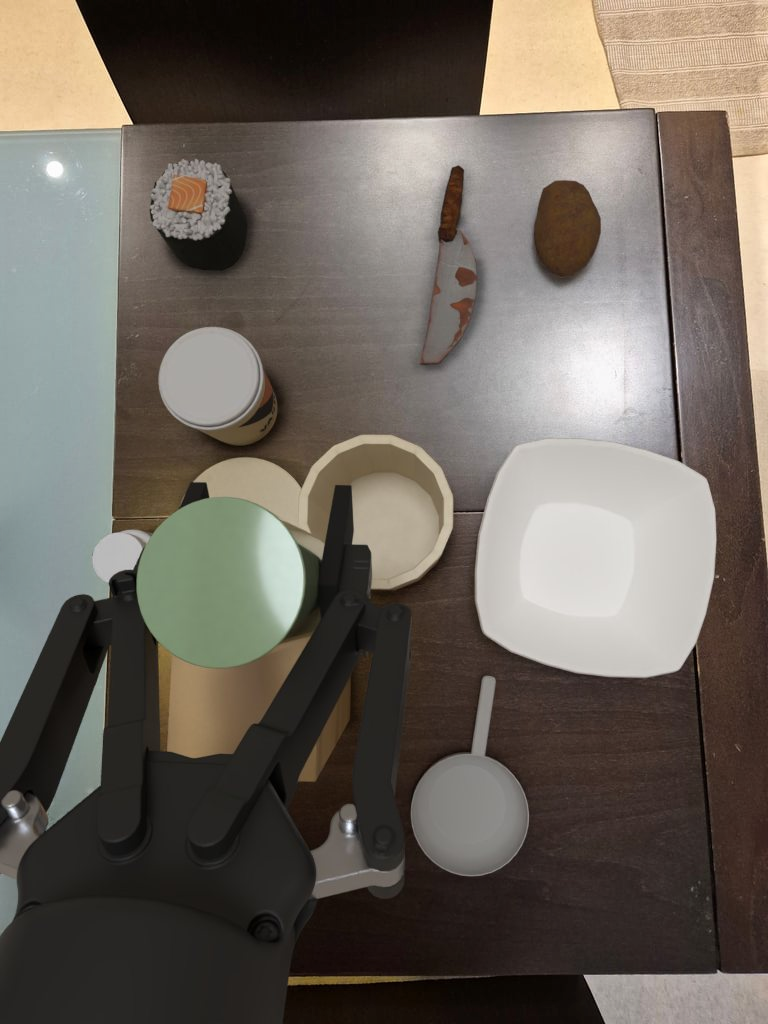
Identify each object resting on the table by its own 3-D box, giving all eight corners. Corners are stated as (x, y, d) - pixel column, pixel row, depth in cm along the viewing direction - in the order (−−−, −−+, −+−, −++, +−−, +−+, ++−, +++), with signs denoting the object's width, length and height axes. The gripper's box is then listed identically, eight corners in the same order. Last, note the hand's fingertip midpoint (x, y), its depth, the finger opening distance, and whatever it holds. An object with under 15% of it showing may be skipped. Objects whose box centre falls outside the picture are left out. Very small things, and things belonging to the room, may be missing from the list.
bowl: (489, 440, 74) (498, 420, 66) (695, 476, 73) (732, 461, 64) (453, 643, 72) (458, 650, 64) (664, 684, 71) (698, 697, 62)
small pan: (403, 851, 70) (402, 865, 66) (431, 662, 72) (432, 666, 68) (515, 871, 70) (520, 887, 66) (541, 681, 71) (548, 685, 68)
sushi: (167, 268, 78) (139, 231, 70) (180, 194, 79) (154, 149, 71) (241, 276, 78) (221, 240, 70) (254, 202, 78) (235, 158, 70)
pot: (319, 588, 73) (295, 587, 59) (323, 464, 75) (300, 433, 60) (446, 591, 73) (452, 590, 58) (447, 465, 74) (453, 435, 60)
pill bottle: (153, 603, 74) (112, 604, 64) (118, 560, 75) (72, 555, 65) (196, 565, 74) (162, 561, 64) (161, 523, 75) (122, 512, 65)
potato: (587, 193, 77) (601, 158, 70) (600, 282, 76) (616, 255, 69) (524, 201, 77) (533, 167, 71) (536, 290, 76) (546, 263, 70)
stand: (248, 716, 72) (165, 777, 49) (252, 614, 74) (172, 624, 50) (349, 719, 72) (315, 782, 48) (352, 616, 73) (319, 627, 49)
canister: (222, 643, 37) (130, 665, 25) (228, 526, 38) (141, 494, 26) (339, 647, 37) (302, 671, 25) (343, 528, 38) (308, 498, 26)
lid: (177, 591, 74) (134, 590, 63) (183, 458, 76) (142, 435, 65) (310, 593, 73) (291, 593, 62) (314, 459, 75) (296, 436, 64)
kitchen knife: (465, 369, 75) (416, 360, 74) (462, 373, 76) (415, 364, 76) (497, 171, 76) (450, 161, 76) (493, 179, 78) (447, 169, 77)
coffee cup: (284, 454, 75) (259, 428, 63) (194, 453, 76) (152, 427, 64) (287, 365, 76) (262, 323, 64) (198, 365, 77) (157, 323, 65)
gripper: (-217, 1150, 19) (97, 560, 37) (507, 1201, 18) (471, 570, 36) (-414, 1061, 15) (53, 435, 33) (543, 1122, 14) (481, 443, 32)
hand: (273, 507), depth 35 cm, fingers closed on canister, 6 cm apart
